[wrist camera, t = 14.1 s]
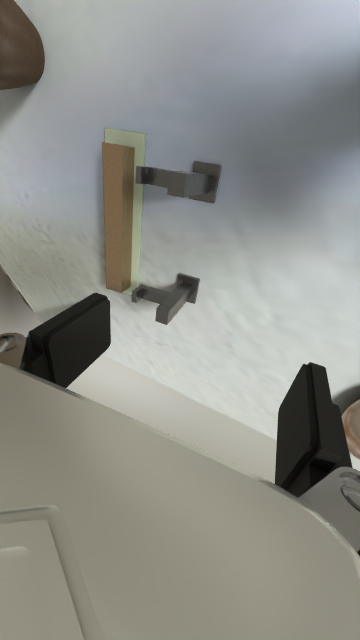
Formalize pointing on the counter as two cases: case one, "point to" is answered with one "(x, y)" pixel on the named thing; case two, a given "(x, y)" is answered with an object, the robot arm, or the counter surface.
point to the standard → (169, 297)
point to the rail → (118, 213)
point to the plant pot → (18, 48)
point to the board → (139, 160)
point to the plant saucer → (352, 427)
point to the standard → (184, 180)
